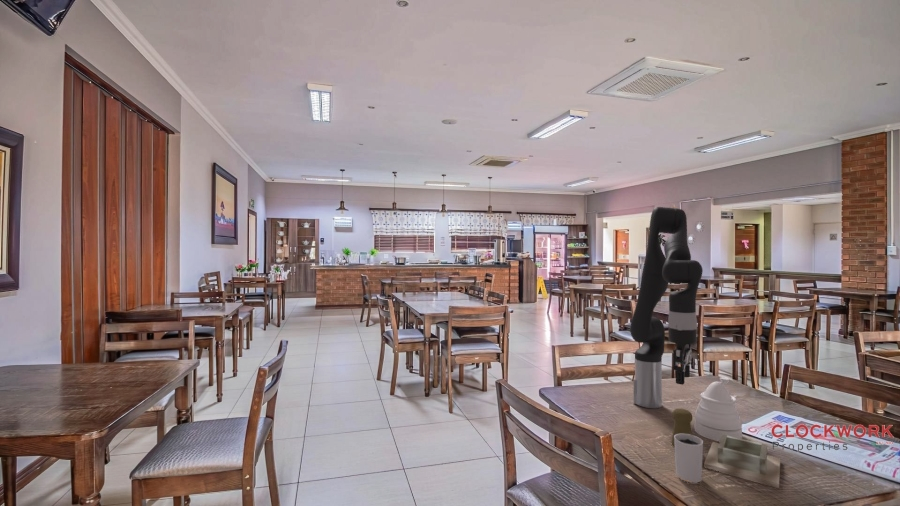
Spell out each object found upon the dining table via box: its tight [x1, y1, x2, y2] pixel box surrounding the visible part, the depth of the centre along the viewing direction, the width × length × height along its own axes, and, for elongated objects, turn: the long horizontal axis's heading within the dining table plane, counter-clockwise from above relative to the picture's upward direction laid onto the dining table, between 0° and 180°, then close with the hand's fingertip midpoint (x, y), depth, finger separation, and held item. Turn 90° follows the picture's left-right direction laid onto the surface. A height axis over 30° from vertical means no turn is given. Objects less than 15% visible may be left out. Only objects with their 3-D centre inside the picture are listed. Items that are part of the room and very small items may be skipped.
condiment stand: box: [703, 434, 781, 489], centre depth 115 cm, size 16×16×5 cm
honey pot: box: [694, 376, 743, 442], centre depth 134 cm, size 13×13×18 cm
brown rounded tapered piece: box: [671, 408, 693, 448], centre depth 126 cm, size 6×6×11 cm
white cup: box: [674, 434, 704, 482], centre depth 109 cm, size 7×7×10 cm
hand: (682, 380), depth 126 cm, fingers open, 8 cm apart
